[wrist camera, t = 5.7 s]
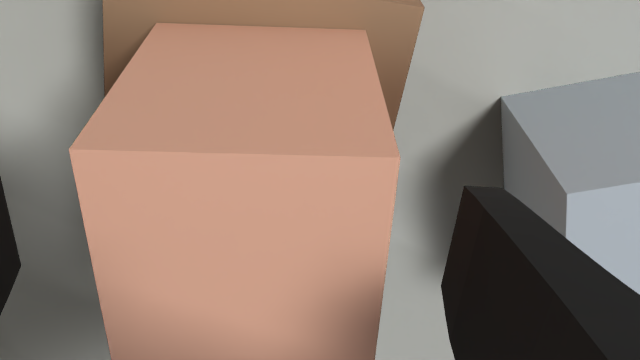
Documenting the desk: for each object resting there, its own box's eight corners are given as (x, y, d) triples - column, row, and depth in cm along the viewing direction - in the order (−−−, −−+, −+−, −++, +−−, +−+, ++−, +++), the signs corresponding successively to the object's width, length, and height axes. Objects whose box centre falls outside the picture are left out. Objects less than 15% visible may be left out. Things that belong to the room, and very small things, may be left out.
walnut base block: (351, 170, 18) (361, 254, 15) (146, 142, 17) (106, 222, 14) (397, -38, 15) (424, 7, 11) (151, -80, 14) (101, -47, 11)
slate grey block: (637, 192, 18) (737, 306, 14) (505, 213, 19) (563, 332, 14) (649, 69, 16) (771, 160, 12) (500, 96, 17) (566, 194, 12)
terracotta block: (351, 202, 14) (372, 378, 9) (174, 197, 14) (114, 376, 9) (365, 29, 12) (399, 157, 7) (156, 23, 11) (69, 149, 7)
